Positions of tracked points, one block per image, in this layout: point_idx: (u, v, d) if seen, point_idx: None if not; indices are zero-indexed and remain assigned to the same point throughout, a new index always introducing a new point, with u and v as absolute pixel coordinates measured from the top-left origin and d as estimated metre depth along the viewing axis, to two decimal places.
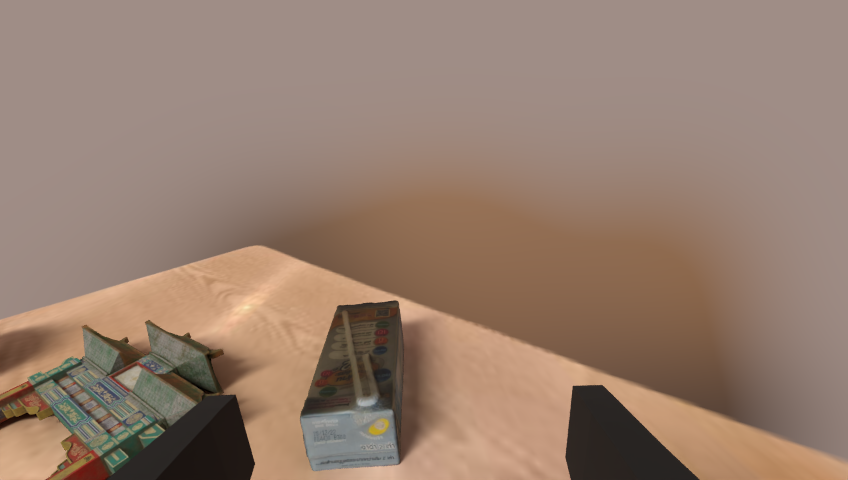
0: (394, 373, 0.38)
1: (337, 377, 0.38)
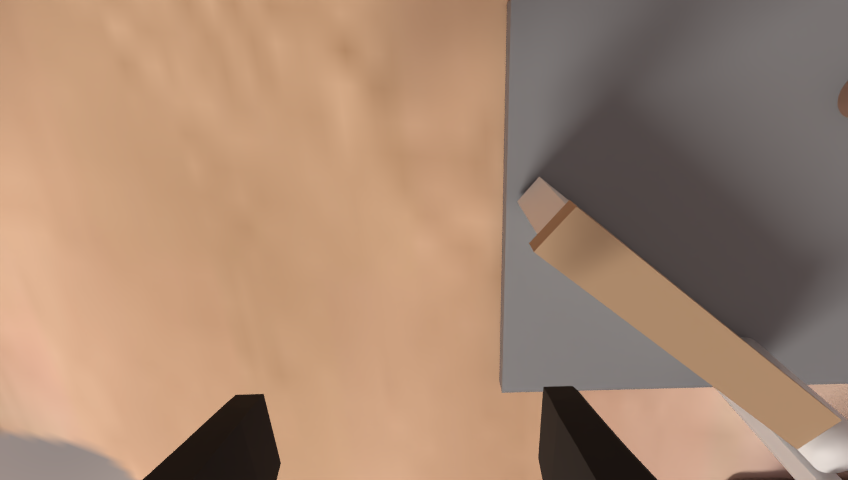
0: None
1: None
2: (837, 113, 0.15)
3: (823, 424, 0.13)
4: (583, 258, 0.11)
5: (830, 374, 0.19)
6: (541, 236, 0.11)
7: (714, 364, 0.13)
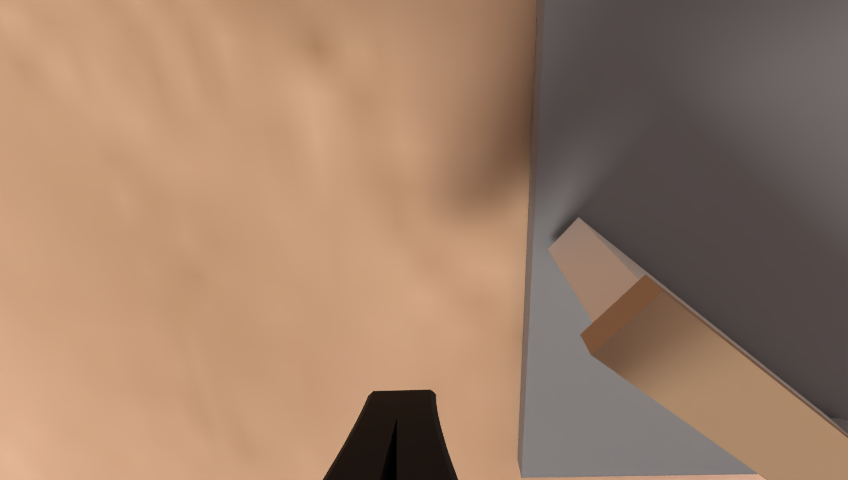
0: None
1: None
2: None
3: None
4: (666, 364, 0.07)
5: None
6: (601, 329, 0.08)
7: None
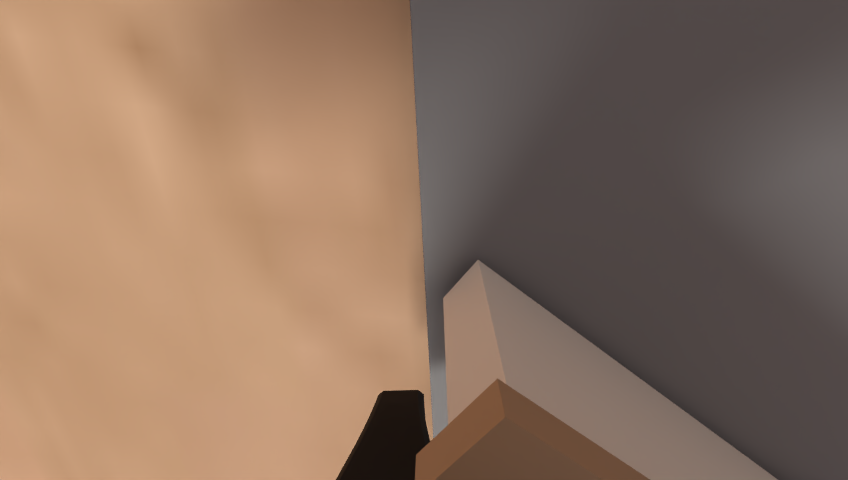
0: None
1: None
2: None
3: None
4: None
5: None
6: (435, 456, 0.05)
7: None
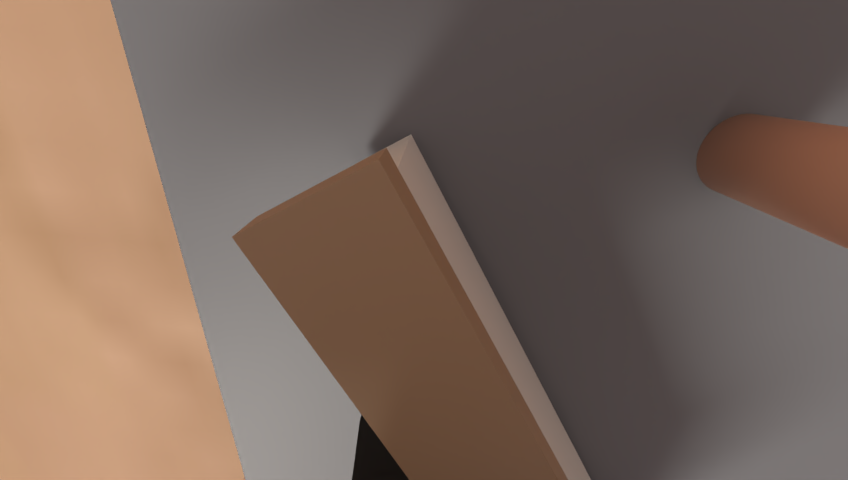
0: None
1: None
2: (698, 184, 0.09)
3: None
4: (357, 307, 0.04)
5: None
6: (278, 208, 0.04)
7: None
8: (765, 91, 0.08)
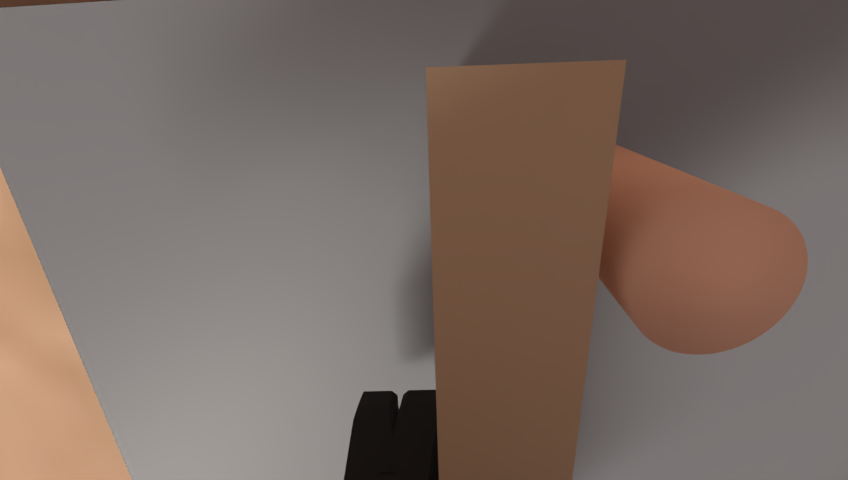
0: None
1: None
2: None
3: None
4: (503, 205, 0.04)
5: None
6: None
7: None
8: None
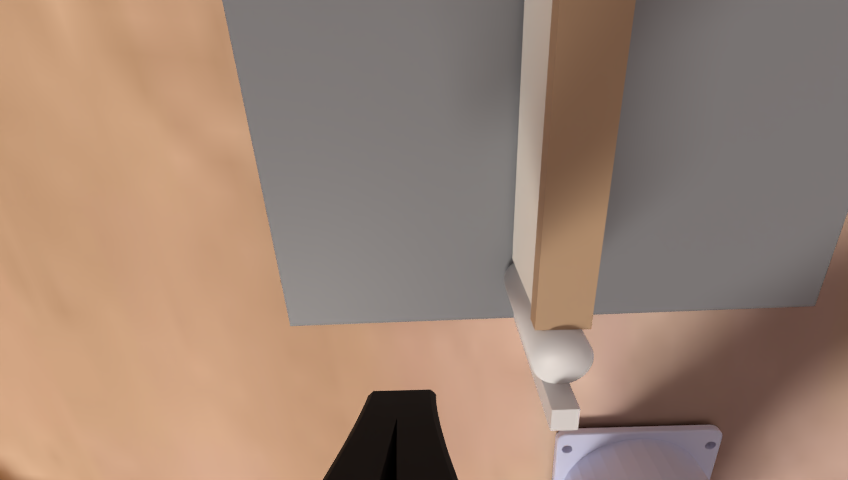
0: None
1: None
2: None
3: (576, 320, 0.12)
4: None
5: (633, 302, 0.18)
6: None
7: (570, 161, 0.10)
8: None
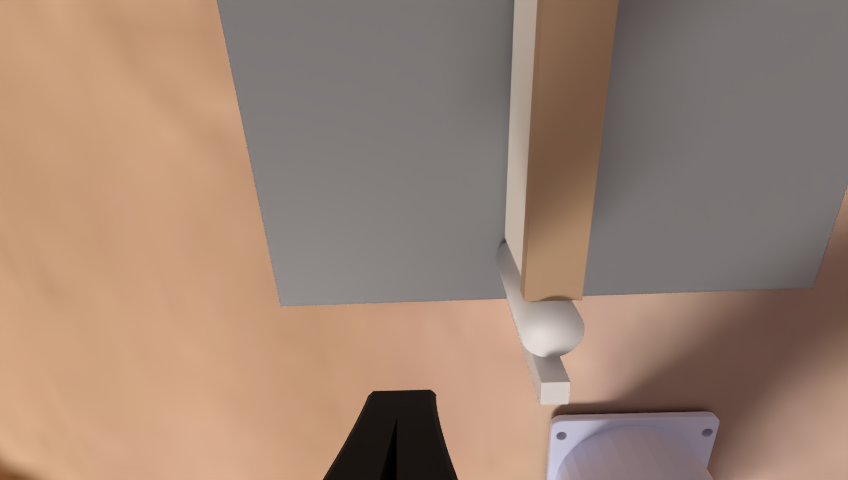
0: None
1: None
2: None
3: (566, 291, 0.12)
4: None
5: (628, 283, 0.17)
6: None
7: (559, 122, 0.10)
8: None
